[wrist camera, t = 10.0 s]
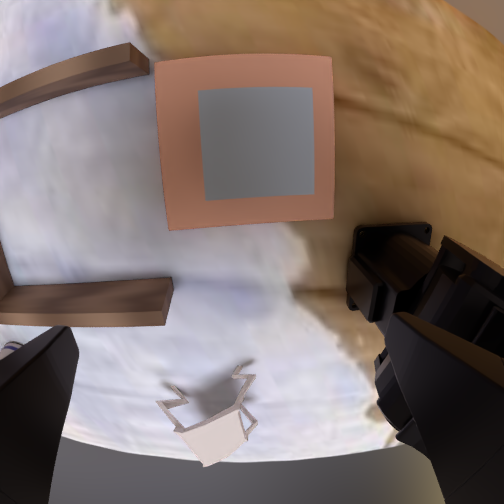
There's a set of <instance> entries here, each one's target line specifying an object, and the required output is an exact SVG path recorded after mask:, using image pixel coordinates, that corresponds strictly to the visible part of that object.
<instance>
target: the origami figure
mask: <svg viewBox="0 0 504 504" xmlns="http://www.w3.org/2000/svg"><path fill="white" fill-rule="evenodd" d="M241 370H242V366H237V368H236V370H235V371H234V373H233V374H232V379H245V378H247V380H246V382H245V383H244V385H243V387H242V389H241V391H240V393H239V395H238V397H237V399H236V401H235V403H234V405H233V406H231V407H229V408H227V409H225V410H223V411H222V412H220V413H218V414H216V415H214V416H213V417H211V418H209V419H207V420H204V421H202V422H200V423H197V424H195V425H192V426H190V427H188V428H185V427H184V426H183V425H182V424H181V423H180V422H179V421H178V420H177V419H176V418H175V417H174V416H173V415H172V414H171V413H170V412H169V410H168V409H169V408H173V407H176V406H180V405H183V404H186V403H189V402H188V400H187V399H186V398H185V397H184V396H183V395H182V393H181V392H180V391H179V390H178V389H177V388H176V387H175V386H171V388H172V389H173V391H174V392H175V393H176V394H177V395H178V396H179V397H180V398H181V399H174V400H161V401H156V403H157V404H158V405H159V407H160V408H161V409H162V410H163V411H164V413H165V414H166V415H167V416H168V418H169V419H170V420H171V421H172V423H173V424H174V425H175V426H176V427H175V429H174V432H175V433H176V434H177V435H179V436H180V437H181V438H182V439H183V440H184V442H185V443H186V444H187V445H188V447H189V448H190V449H191V450H192V452H193V453H194V454H195V455H196V456H197V458H198V459H199V460H200V461H201V462H202V463H203V465H204V466H203V467H206V466H210V465H212V464H214V463H216V462H218V461H221V460H223V459H225V458H227V457H228V456H230V455H231V454H232V453H233V452H234V451H235V450H237V449H238V448H239V447H240V446H241V445H242V444H243V443H244V442H246V441H248V435H249V434H250V433H251V432H252V430H253V429H254V428H255V427H256V426H257V425H258V421H257V420H256V419H255V418H254V417H253V416H252V415H251V414H250V413H249V412H248V411H247V409H246V408H245V407H244V406H243V405H242V404H241V403H242V402H243V400H244V395H245V393H246V392H247V390H248V389H249V387H250V386H251V384H252V383H253V381H254V380H255V378H256V375H252V374H248V375H238V373H239V372H240V371H241ZM239 409H241V411H242V412H243V413H244V414H245V416H246V417H247V418H248V419H249V421H250V422H251V423H252V425H251V426H250V427H249V428H248V429H247V430H246V431H245V430H244V426H243V423H242V419H241V415H240V412H239Z"/></svg>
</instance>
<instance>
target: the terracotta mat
mask: <svg viewBox="0 0 504 504" xmlns="http://www.w3.org/2000/svg"><path fill="white" fill-rule="evenodd" d="M154 68H155V94H156V112H157V126H158V139H159V151H160V162H161V172H162V181H163V190H164V198H165V206H166V214H167V221H168V229H169V231H171V230H183V229H194V228H206V227H218V226H231V225H244V224H258V223H273V222H288V221H304V220H321V219H334V187H335V125H334V94H333V74H332V59H331V57H327V56H315V55H300V54H230V55H214V56H202V57H192V58H183V59H175V60H168V61H161V62H155V63H154ZM243 87H308V88H312V91H313V118H314V194H309V195H287V196H268V197H252V198H237V199H223V200H211V201H206V200H205V188H204V176H203V163H202V150H201V135H200V119H199V102H198V91H199V90H211V89H224V88H243Z"/></svg>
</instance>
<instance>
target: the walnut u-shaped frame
mask: <svg viewBox="0 0 504 504" xmlns="http://www.w3.org/2000/svg"><path fill="white" fill-rule="evenodd" d="M148 74H149V59H148V58H147V57H146V56H145V55H144V54H142V53H141V52H140V51H139V50H138V49H137V48H136V47H135V46H133V45H132V44H131V43H130V42H129V43H124V44H120V45H116V46H112V47H108V48H104V49H100V50H97V51H93V52H90V53H86V54H83V55H80V56H77V57H74V58H70V59H67V60H65V61H62V62H59V63H56V64H53V65H51V66H48V67H45V68H43V69H40V70H38V71H35V72H33V73H31V74H28V75H26V76H24V77H21V78H19V79H17V80H15V81H13V82H10V83H8V84H6V85H4V86H2V87H0V119H1V118H3V117H5V116H7V115H10V114H12V113H15V112H17V111H20V110H22V109H25V108H27V107H30V106H32V105H35V104H38V103H41V102H43V101H46V100H49V99H52V98H55V97H58V96H61V95H65V94H68V93H71V92H75V91H78V90H82V89H85V88H89V87H93V86H97V85H101V84H105V83H109V82H113V81H118V80H122V79H127V78H132V77H137V76H143V75H148ZM173 291H174V289H173V284H172V279H171V277H170V278H156V279H140V280H125V281H108V282H91V283H73V284H54V285H32V286H14V284H13V281H12V278H11V275H10V272H9V269H8V266H7V263H6V260H5V256H4V253H3V250H2V246H1V242H0V324H6V325H24V326H50V327H54V326H56V325H65V326H69V327H136V326H165V323H166V319H167V315H168V311H169V307H170V303H171V299H172V295H173Z"/></svg>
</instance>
